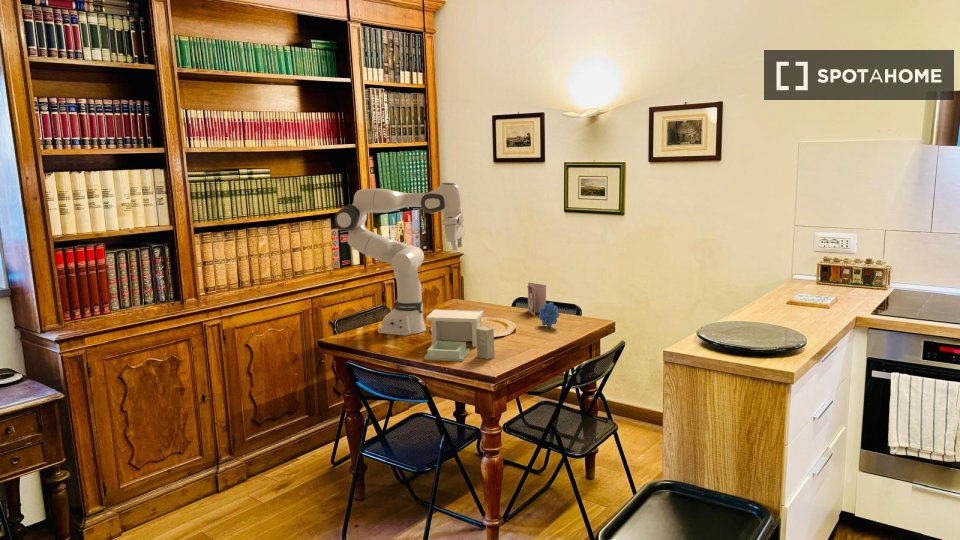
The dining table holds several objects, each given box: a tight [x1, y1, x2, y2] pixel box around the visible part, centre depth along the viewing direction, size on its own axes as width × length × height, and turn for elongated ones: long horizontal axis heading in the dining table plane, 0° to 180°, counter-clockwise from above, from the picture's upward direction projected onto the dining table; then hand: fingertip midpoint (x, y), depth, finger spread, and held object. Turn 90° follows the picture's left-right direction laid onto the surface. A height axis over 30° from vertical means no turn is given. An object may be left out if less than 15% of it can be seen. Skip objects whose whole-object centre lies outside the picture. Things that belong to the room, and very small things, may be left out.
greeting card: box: [526, 282, 547, 317], centre depth 349 cm, size 11×7×15 cm, turn 13°
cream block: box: [425, 308, 484, 348], centre depth 298 cm, size 22×14×14 cm, turn 79°
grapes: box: [538, 302, 560, 328], centre depth 324 cm, size 12×7×12 cm, turn 47°
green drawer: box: [423, 340, 470, 362], centre depth 283 cm, size 16×14×4 cm
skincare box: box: [476, 325, 495, 360], centre depth 279 cm, size 6×4×12 cm
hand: (457, 248), depth 310 cm, fingers open, 8 cm apart
